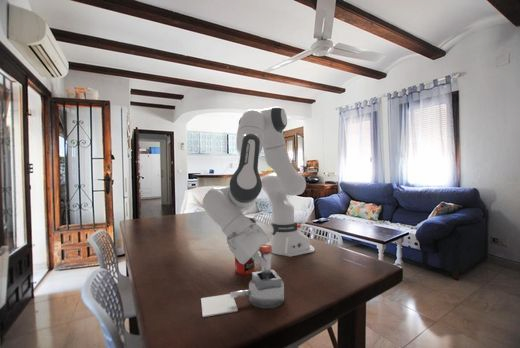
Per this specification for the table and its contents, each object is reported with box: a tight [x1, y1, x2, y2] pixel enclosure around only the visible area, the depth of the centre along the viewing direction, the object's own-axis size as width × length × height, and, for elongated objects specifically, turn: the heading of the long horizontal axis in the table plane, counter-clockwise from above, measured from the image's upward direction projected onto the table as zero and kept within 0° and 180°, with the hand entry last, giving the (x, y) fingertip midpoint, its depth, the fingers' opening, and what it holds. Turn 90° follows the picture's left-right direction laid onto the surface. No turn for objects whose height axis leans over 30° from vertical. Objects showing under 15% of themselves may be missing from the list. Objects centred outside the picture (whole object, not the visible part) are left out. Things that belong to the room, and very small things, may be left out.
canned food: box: [234, 256, 255, 276], centre depth 101 cm, size 8×8×11 cm
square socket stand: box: [229, 269, 285, 310], centre depth 78 cm, size 17×11×8 cm, turn 106°
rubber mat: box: [200, 293, 239, 318], centre depth 76 cm, size 10×10×1 cm
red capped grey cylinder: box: [259, 244, 272, 280], centre depth 79 cm, size 4×4×11 cm
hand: (267, 262), depth 79 cm, fingers closed on red capped grey cylinder, 3 cm apart
